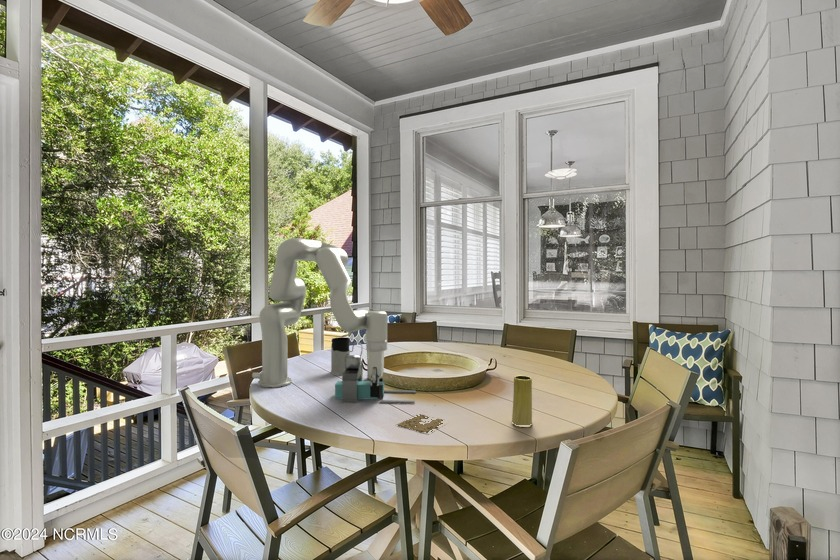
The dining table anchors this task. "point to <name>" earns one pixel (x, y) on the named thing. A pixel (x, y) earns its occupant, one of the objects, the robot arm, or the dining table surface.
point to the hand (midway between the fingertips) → (376, 392)
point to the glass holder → (340, 354)
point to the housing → (351, 378)
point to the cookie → (420, 427)
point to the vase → (522, 400)
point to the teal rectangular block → (360, 390)
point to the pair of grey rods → (397, 400)
